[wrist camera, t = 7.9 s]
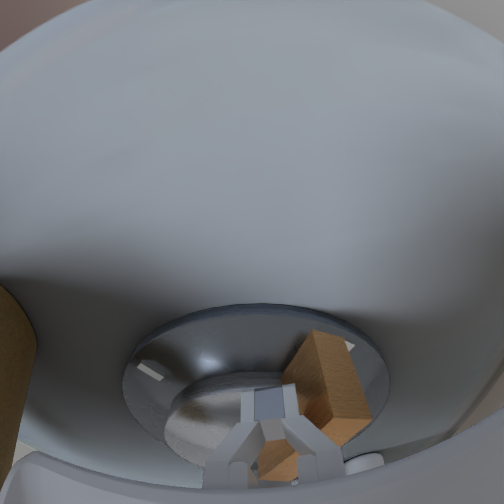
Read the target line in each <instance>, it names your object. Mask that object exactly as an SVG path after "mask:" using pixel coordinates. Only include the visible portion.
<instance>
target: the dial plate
mask: <svg viewBox="0 0 504 504" xmlns="http://www.w3.org/2000/svg"><path fill="white" fill-rule="evenodd" d="M312 329H313V330H317V331H320V332H324V333H328V334H332V335H336V336H340V337H343V338H344V340H345V343H346V346H347V348H348V351H349V354H350V356H351V359H352V362H353V364H354V367H355V370H356V373H357V375H358V378H359V381H360V384H361V387H362V390H363V393H364V395H365V398H366V401H367V404H368V407H369V410H370V413H371V416H372V419H373V420H372V421H371V422H369V423H368V424H367V425H366V426H365V427H364V428H363V429H361V430H360V431H359V432H358V433H357V434H356V435H354V436H353V437H352V438H351V439H349V440H348V441H347V442H346V443H348V442H349V441H351V440H352V439H354V438H355V437H357V436H358V435H359V434H361V433H362V432H363V431H364V430H365V429H366V428H368V427H369V426H370V425H371V423H372V422H373V421H374V420H375V419H376V418H377V416H378V415H379V414H380V412H381V411H382V409H383V407H384V405H385V403H386V401H387V398H388V394H389V390H390V378H389V372H388V370H387V367H386V365H385V363H384V361H383V359H382V356H381V354H380V352H379V350H378V348H377V347H376V346H375V345H374V343H373V342H372V341H371V339H370V338H369V337H367V336H366V335H365V334H364V333H363V332H362V331H360V330H359V329H358V328H356V327H354V326H353V325H351V324H349V323H348V322H346V321H344V320H341V319H339V318H336V317H334V316H332V315H329V314H326V313H322V312H319V311H315V310H311V309H307V308H301V307H295V306H288V305H276V304H237V305H229V306H222V307H215V308H210V309H206V310H202V311H197V312H193V313H190V314H187V315H185V316H182V317H179V318H177V319H174V320H172V321H170V322H168V323H166V324H164V325H162V326H161V327H159V328H157V329H156V330H154V331H153V332H152V333H150V334H149V335H148V336H147V337H145V338H144V340H143V341H142V342H141V343H140V344H139V345H138V346H137V348H136V349H135V351H134V353H133V355H132V356H131V358H130V361H129V363H128V365H127V367H126V369H125V373H124V376H123V380H122V391H123V395H124V400H125V402H126V405H127V407H128V409H129V411H130V412H131V414H132V415H133V417H134V418H135V419H136V420H137V422H138V423H139V424H140V425H141V426H142V427H143V428H144V429H145V430H146V431H147V432H148V433H150V434H151V435H152V436H154V437H155V438H156V439H158V440H159V441H161V442H163V443H164V444H166V445H168V444H167V442H166V440H165V436H164V431H165V426H166V422H167V417H168V413H169V409H170V405H171V403H172V401H173V399H174V398H175V396H176V395H177V394H178V393H179V392H180V391H182V390H183V389H184V388H186V387H188V386H189V385H191V384H193V383H196V382H198V381H200V380H203V379H207V378H210V377H214V376H219V375H223V374H230V373H238V372H278V373H284V371H285V370H286V368H287V367H288V365H289V364H290V362H291V361H292V359H293V358H294V356H295V355H296V353H297V352H298V350H299V349H300V347H301V345H302V344H303V342H304V341H305V339H306V338H307V336H308V334H309V333H310V331H311V330H312ZM346 443H345V444H346ZM168 446H169V445H168ZM169 447H170V446H169Z"/></svg>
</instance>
